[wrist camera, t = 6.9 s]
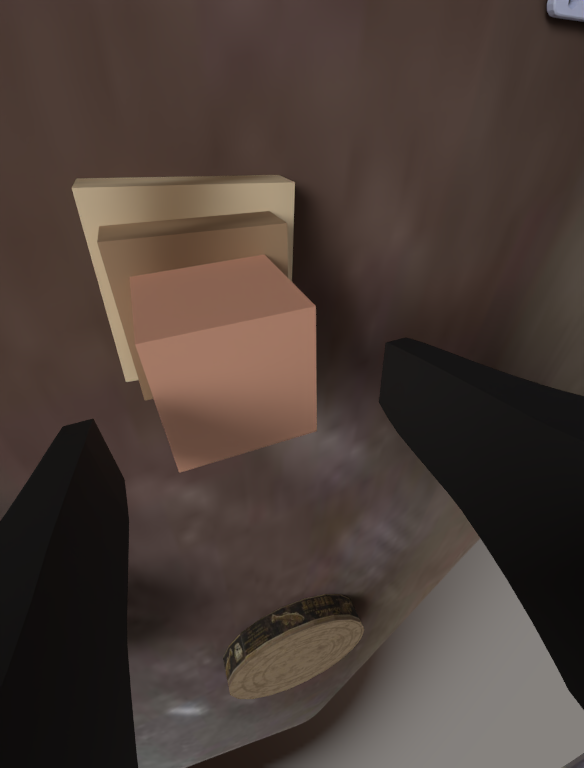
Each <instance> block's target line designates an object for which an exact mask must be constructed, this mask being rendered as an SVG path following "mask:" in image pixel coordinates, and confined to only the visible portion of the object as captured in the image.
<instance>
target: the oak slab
mask: <svg viewBox="0 0 584 768" xmlns="http://www.w3.org/2000/svg"><path fill="white" fill-rule="evenodd" d="M72 191H73V194H74V198H75V201H76V205H77V208H78V212H79V216H80V219H81V223H82V226H83V230H84V233H85V237H86V241H87V244H88V248H89V251H90V255H91V258H92V262H93V266H94V269H95V273H96V276H97V280H98V283H99V287H100V291H101V294H102V298H103V301H104V305H105V308H106V312H107V316H108V319H109V323H110V326H111V330H112V333H113V337H114V341H115V344H116V348H117V351H118V355H119V358H120V362H121V366H122V369H123V373H124V376H125V380H126V382H129V381H135V380H139V379H138V376H137V373H136V369H135V366H134V363H133V359H132V356H131V353H130V350H129V346H128V343H127V340H126V336H125V333H124V330H123V326H122V323H121V320H120V317H119V313H118V310H117V307H116V303H115V300H114V297H113V293H112V290H111V287H110V283H109V280H108V277H107V274H106V270H105V267H104V264H103V260H102V257H101V254H100V250H99V247H98V244H97V239H98V230H99V226H107V225H118V224H129V223H140V222H151V221H163V220H174V219H185V218H196V217H207V216H218V215H230V214H241V213H252V212H263V211H270V212H272V213H273V214H275V215H276V216H278V217H279V218H281V219H282V220H284V221H285V222H287V230H288V279H289V280H290V281H291V282H292V262H293V229H294V196H295V182H293V181H291V180H289V179H286V178H284V177H282V176H280V175H246V176H193V177H139V178H86V179H76V181H75V183H74V185H73V186H72Z"/></svg>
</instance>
